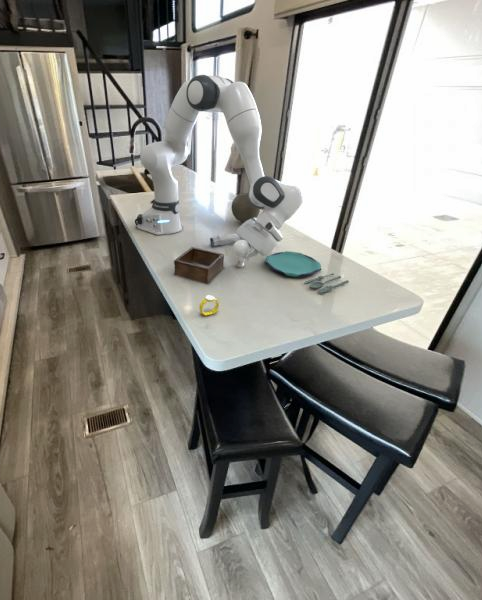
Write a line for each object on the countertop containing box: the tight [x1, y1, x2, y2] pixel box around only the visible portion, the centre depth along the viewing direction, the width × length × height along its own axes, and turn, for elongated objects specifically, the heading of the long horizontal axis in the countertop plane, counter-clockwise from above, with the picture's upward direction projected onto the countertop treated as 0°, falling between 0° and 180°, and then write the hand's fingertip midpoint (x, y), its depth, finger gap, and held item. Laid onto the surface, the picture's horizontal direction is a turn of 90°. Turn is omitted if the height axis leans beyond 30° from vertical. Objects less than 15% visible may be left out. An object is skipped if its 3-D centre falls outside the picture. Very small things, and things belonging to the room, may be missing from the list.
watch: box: [198, 294, 220, 316], centre depth 95 cm, size 6×3×6 cm, turn 114°
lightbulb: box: [232, 240, 251, 268], centre depth 120 cm, size 6×6×11 cm
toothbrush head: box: [209, 232, 239, 248], centre depth 140 cm, size 5×7×25 cm
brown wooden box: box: [173, 246, 225, 285], centre depth 118 cm, size 14×14×6 cm
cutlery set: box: [264, 250, 350, 294], centre depth 119 cm, size 20×30×2 cm, turn 28°
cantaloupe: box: [231, 192, 261, 224], centre depth 160 cm, size 14×14×15 cm
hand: (239, 253), depth 119 cm, fingers open, 8 cm apart
